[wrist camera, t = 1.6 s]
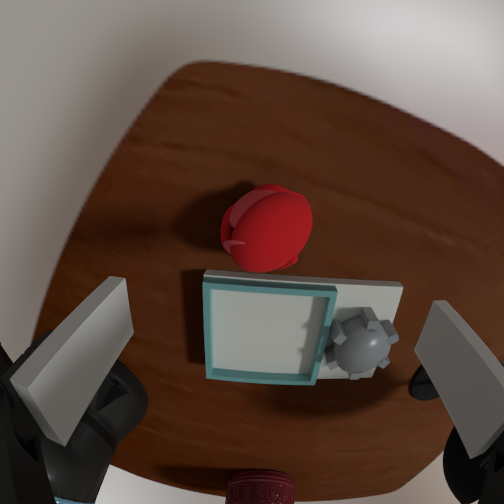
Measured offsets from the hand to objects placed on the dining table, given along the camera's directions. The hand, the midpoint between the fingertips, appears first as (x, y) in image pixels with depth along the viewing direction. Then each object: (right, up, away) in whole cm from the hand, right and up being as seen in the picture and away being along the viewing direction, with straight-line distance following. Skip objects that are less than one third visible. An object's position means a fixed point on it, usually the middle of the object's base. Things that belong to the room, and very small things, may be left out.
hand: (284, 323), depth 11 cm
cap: (0, +6, +14) cm, 15 cm away
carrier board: (+4, -5, +17) cm, 19 cm away
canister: (+1, -41, +31) cm, 52 cm away
